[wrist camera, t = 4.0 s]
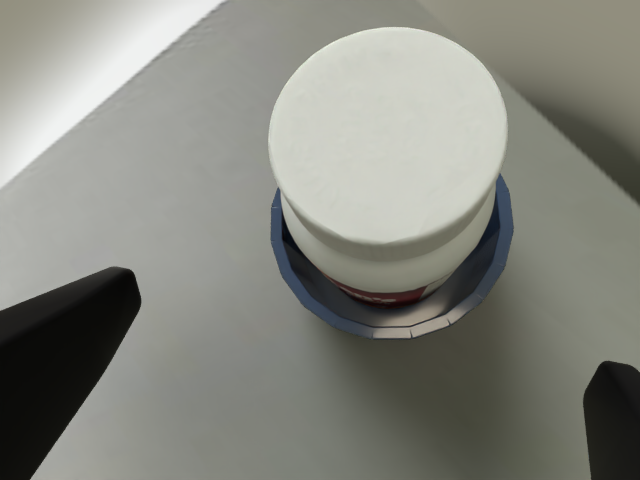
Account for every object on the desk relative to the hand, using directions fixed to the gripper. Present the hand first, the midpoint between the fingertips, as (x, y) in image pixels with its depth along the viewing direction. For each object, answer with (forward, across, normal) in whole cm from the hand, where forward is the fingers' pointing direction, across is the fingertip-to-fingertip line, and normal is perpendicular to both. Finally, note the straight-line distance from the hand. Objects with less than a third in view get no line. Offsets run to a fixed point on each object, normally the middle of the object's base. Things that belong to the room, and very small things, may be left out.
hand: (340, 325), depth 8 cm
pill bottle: (+11, 0, +5) cm, 12 cm away
